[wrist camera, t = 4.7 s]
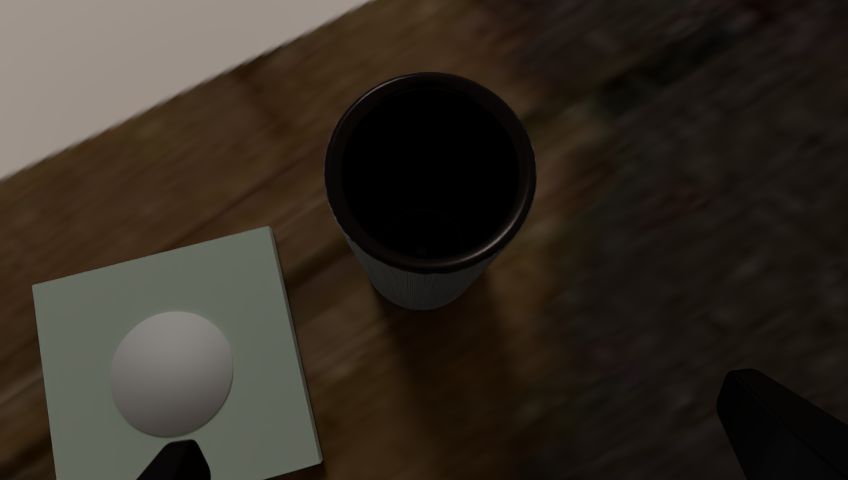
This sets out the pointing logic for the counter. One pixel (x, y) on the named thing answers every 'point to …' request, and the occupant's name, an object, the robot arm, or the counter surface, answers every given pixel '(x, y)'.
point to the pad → (176, 363)
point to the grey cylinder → (429, 184)
